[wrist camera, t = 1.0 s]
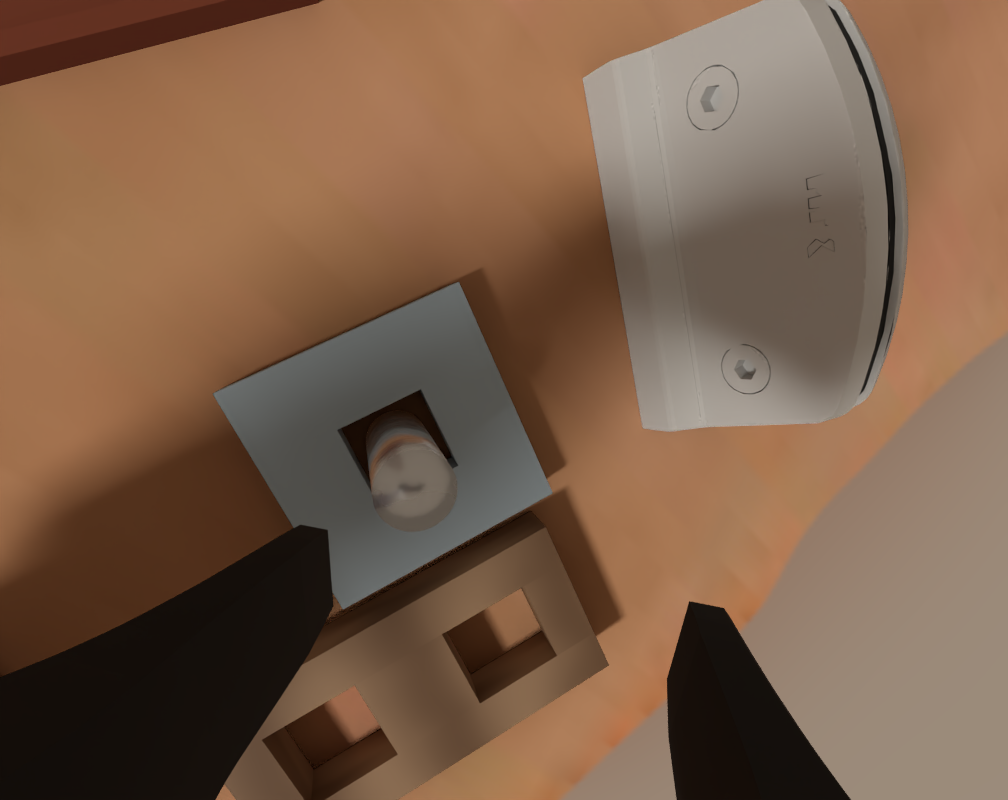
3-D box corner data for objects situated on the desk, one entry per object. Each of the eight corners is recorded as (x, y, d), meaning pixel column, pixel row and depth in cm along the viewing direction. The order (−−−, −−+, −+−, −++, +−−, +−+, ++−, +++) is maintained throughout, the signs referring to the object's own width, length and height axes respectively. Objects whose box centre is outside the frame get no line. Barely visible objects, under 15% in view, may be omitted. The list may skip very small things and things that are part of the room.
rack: (293, 825, 24) (289, 869, 22) (198, 695, 22) (184, 731, 20) (590, 640, 27) (609, 665, 25) (531, 510, 25) (545, 526, 23)
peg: (382, 480, 23) (395, 546, 16) (354, 427, 22) (356, 475, 16) (436, 452, 23) (471, 506, 17) (410, 400, 23) (435, 435, 16)
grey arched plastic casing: (580, 67, 23) (836, -100, 14) (652, 70, 25) (903, -70, 17) (643, 436, 26) (876, 468, 18) (700, 406, 29) (926, 423, 21)
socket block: (343, 591, 23) (343, 609, 22) (222, 388, 21) (212, 393, 19) (541, 483, 25) (552, 493, 24) (451, 283, 23) (459, 281, 21)
